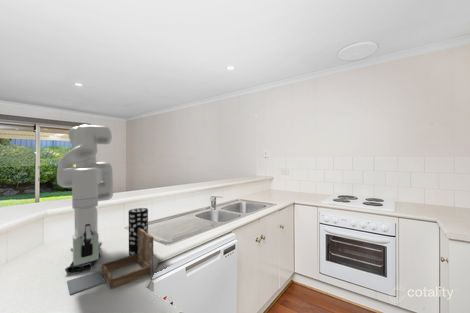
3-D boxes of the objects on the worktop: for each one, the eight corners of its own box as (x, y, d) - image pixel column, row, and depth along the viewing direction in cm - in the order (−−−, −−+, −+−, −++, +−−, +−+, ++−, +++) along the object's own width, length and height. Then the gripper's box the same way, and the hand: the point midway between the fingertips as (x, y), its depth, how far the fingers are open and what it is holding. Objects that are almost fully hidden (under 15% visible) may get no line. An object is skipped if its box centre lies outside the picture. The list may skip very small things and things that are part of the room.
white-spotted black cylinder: (128, 251, 102) (128, 209, 102) (147, 247, 106) (147, 207, 106) (128, 258, 95) (128, 213, 95) (149, 254, 99) (148, 211, 99)
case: (101, 271, 84) (101, 236, 84) (140, 259, 94) (140, 227, 94) (111, 290, 72) (111, 249, 72) (154, 274, 82) (154, 237, 82)
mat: (67, 281, 77) (67, 280, 77) (99, 271, 84) (99, 270, 84) (69, 295, 70) (69, 294, 70) (105, 282, 77) (105, 281, 77)
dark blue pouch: (94, 273, 86) (103, 252, 100) (91, 261, 85) (100, 242, 99) (66, 281, 83) (80, 258, 97) (63, 268, 82) (77, 247, 96)
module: (72, 260, 76) (72, 233, 76) (96, 254, 81) (95, 229, 81) (74, 265, 73) (74, 237, 73) (98, 259, 77) (98, 232, 77)
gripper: (70, 200, 81) (70, 249, 81) (75, 208, 68) (75, 265, 68) (93, 198, 86) (93, 243, 86) (102, 204, 73) (102, 258, 73)
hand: (85, 252), depth 77 cm, fingers closed on module, 5 cm apart
